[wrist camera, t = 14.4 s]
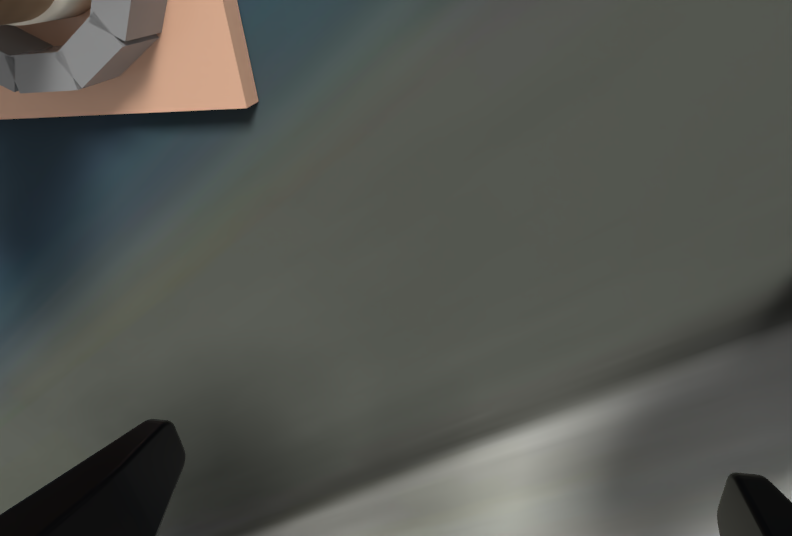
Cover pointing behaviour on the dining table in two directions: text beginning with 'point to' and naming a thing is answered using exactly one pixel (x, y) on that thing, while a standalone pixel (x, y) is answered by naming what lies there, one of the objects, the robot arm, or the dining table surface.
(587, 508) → the dining table surface
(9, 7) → the brown cylinder
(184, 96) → the collar
